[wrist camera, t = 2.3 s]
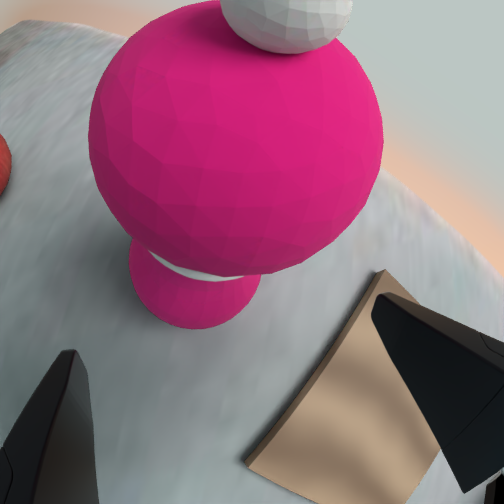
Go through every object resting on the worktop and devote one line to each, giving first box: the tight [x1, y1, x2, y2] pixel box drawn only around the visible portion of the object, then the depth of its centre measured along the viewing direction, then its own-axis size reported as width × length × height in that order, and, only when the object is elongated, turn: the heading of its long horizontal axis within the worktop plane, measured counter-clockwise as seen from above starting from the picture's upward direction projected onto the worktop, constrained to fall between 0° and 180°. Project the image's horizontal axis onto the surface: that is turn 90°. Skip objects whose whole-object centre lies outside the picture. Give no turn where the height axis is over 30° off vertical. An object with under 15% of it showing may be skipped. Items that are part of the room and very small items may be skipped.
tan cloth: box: [244, 270, 441, 504], centre depth 21 cm, size 18×16×1 cm
